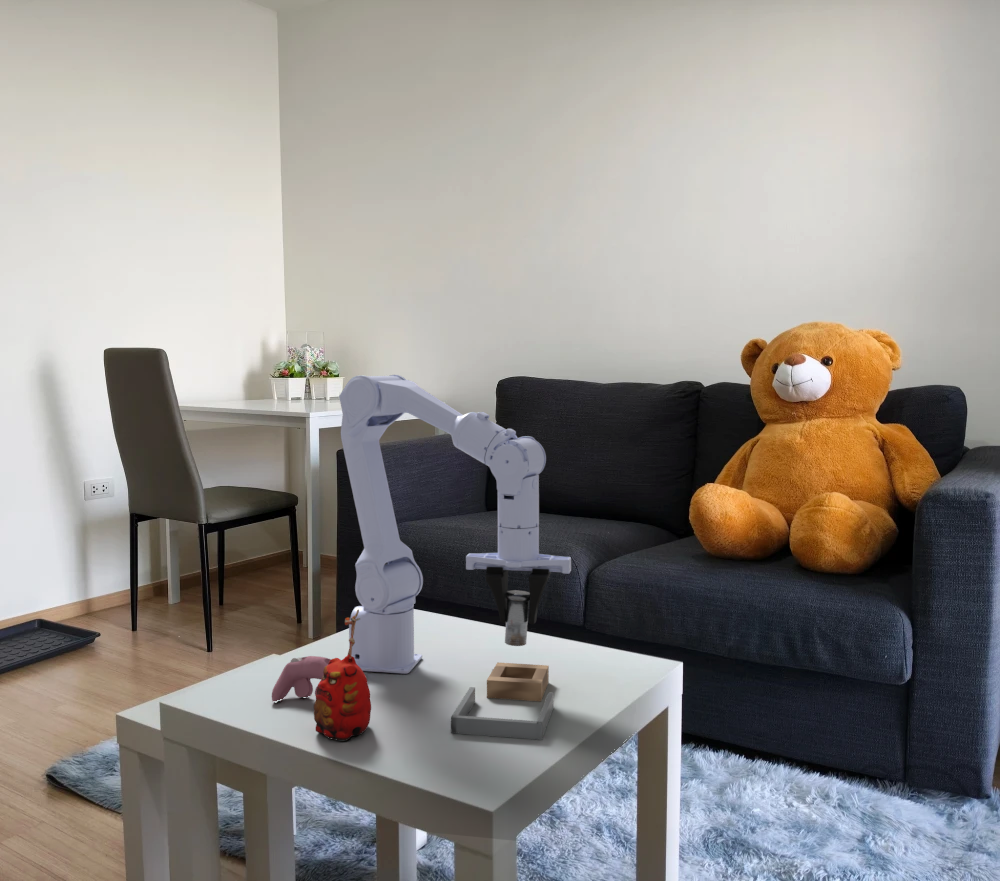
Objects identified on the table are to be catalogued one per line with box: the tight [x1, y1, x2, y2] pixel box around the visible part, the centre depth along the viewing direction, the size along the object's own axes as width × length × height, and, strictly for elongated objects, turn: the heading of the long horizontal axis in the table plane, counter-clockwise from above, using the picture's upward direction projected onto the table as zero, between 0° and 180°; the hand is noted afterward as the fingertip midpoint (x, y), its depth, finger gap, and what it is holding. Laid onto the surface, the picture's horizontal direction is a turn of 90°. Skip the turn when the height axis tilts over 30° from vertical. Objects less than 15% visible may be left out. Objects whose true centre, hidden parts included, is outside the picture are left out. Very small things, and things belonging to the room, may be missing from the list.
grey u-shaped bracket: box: [450, 686, 555, 741], centre depth 116 cm, size 11×11×2 cm
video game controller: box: [271, 655, 332, 702], centre depth 123 cm, size 10×5×7 cm, turn 71°
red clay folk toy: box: [313, 609, 372, 741], centre depth 112 cm, size 8×7×15 cm
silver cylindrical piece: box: [504, 589, 530, 647], centre depth 126 cm, size 4×4×7 cm
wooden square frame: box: [486, 662, 550, 702], centre depth 126 cm, size 8×8×2 cm
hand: (518, 621), depth 126 cm, fingers closed on silver cylindrical piece, 3 cm apart
